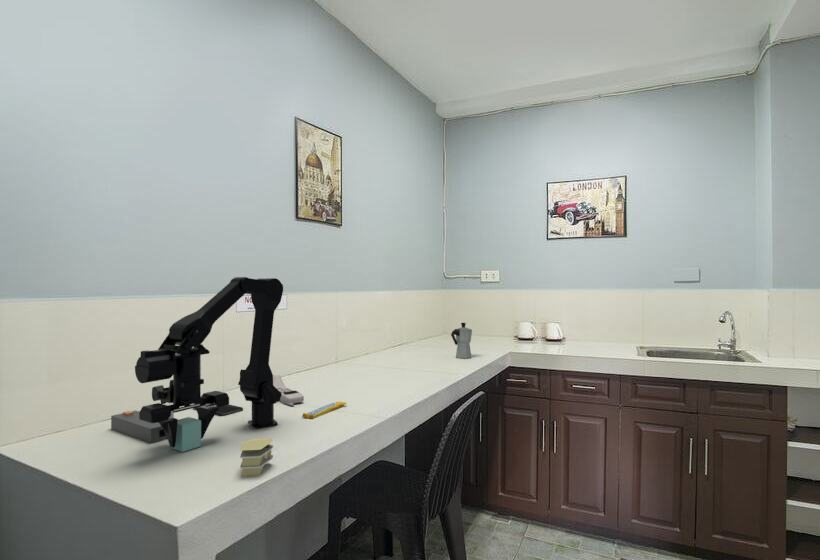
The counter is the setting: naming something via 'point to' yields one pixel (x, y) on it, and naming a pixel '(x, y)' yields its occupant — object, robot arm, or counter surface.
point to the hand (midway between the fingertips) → (186, 442)
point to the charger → (188, 434)
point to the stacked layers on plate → (255, 456)
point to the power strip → (137, 427)
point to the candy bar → (323, 410)
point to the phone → (227, 410)
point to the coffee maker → (462, 342)
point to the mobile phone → (286, 392)
